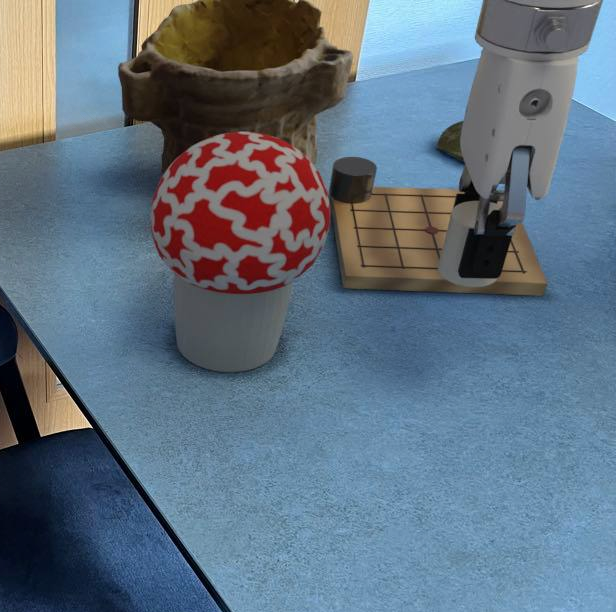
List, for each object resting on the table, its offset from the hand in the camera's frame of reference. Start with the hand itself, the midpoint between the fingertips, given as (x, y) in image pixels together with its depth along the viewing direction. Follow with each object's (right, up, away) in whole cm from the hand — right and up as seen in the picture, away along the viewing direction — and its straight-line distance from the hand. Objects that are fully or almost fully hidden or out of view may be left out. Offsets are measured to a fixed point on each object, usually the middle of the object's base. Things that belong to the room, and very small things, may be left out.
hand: (472, 256), depth 83 cm
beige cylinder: (0, -1, +1) cm, 1 cm away
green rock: (+19, +26, +45) cm, 55 cm away
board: (+6, +9, +29) cm, 31 cm away
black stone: (-1, +17, +34) cm, 38 cm away
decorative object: (-18, -4, +16) cm, 24 cm away
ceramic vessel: (-16, +17, +37) cm, 44 cm away
